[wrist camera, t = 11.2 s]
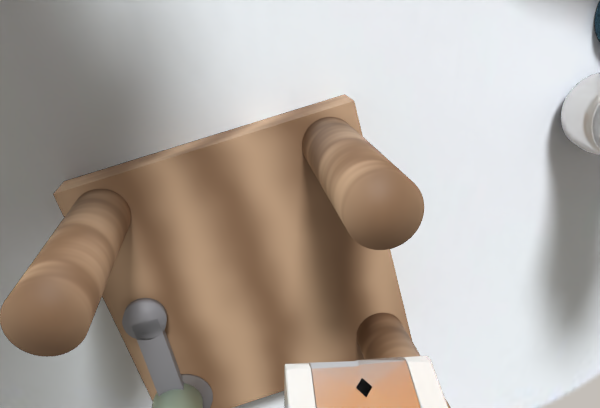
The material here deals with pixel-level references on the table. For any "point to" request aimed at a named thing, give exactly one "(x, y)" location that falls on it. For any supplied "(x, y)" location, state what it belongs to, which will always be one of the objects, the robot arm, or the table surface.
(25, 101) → the table surface
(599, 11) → the external hard drive
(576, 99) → the plastic bottle
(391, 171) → the stool
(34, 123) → the table surface
